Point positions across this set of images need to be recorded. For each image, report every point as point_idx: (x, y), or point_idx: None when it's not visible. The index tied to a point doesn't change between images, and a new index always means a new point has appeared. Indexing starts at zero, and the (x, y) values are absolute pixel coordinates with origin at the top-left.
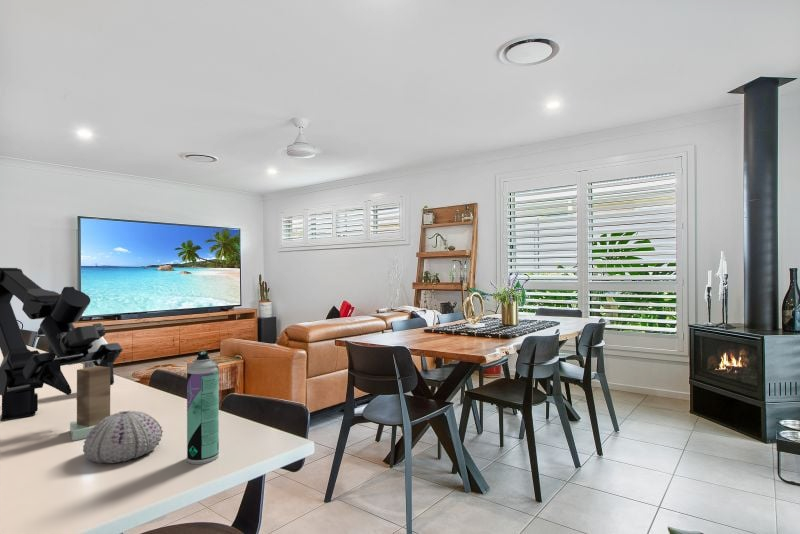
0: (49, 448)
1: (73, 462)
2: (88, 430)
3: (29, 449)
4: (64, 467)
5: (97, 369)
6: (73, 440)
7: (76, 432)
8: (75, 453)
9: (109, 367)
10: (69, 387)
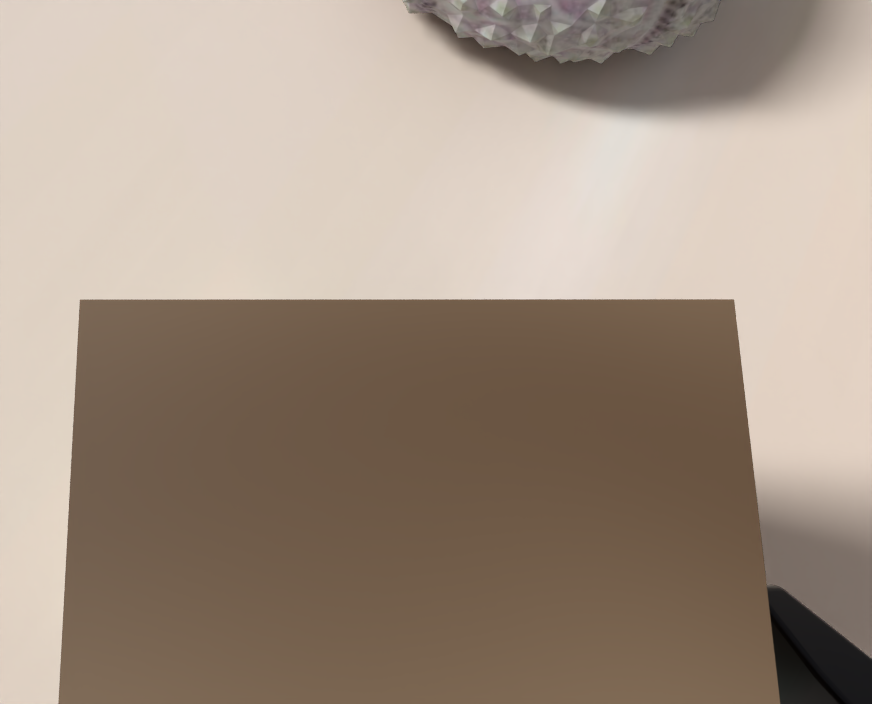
0: None
1: (755, 44)
2: None
3: (808, 571)
4: (813, 22)
5: (474, 362)
6: None
7: None
8: (681, 176)
9: (97, 317)
10: (810, 638)
